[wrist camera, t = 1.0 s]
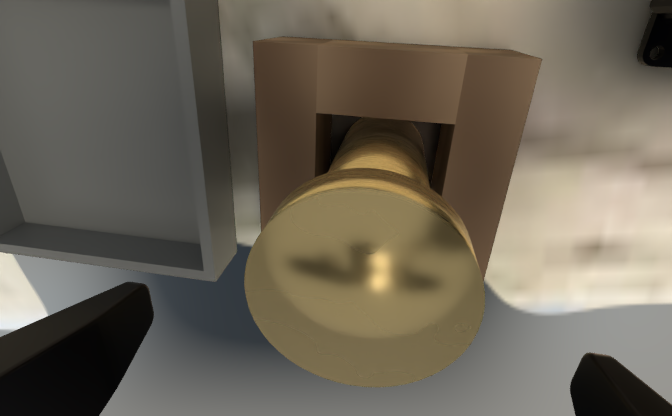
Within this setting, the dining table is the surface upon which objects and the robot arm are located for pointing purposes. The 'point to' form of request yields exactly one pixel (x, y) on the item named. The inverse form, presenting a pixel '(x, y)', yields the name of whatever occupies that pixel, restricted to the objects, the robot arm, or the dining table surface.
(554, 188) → the dining table surface
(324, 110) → the walnut block
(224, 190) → the charcoal tray
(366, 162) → the brass pin
